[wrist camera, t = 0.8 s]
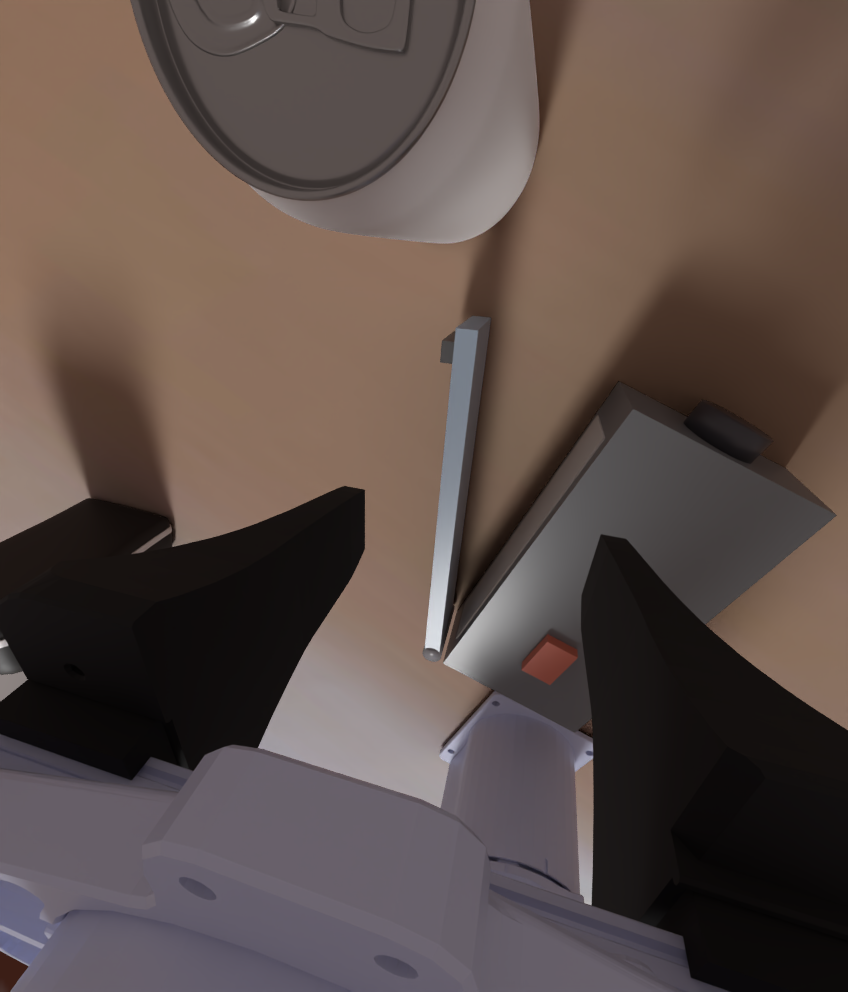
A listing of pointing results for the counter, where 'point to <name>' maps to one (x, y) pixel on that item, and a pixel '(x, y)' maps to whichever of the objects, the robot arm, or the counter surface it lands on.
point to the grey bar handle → (455, 471)
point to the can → (358, 105)
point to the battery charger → (75, 546)
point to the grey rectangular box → (645, 524)
